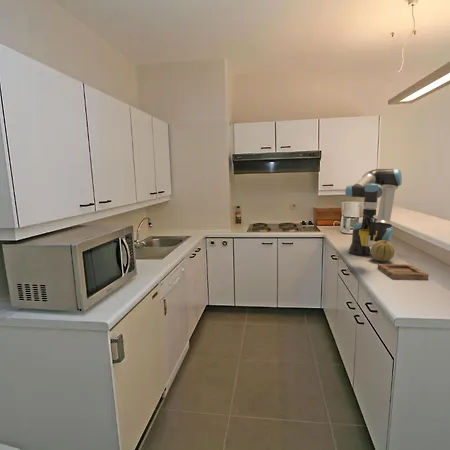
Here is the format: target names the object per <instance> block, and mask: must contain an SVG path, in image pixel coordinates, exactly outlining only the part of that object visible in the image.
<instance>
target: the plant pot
mask: <svg viewBox="0 0 450 450" xmlns="http://www.w3.org/2000/svg"><path fill="white" fill-rule="evenodd" d="M369 234H370V233H369V229H360V230H359V235H360V240H361V245H362V246H367V247H372V246H368V239H369ZM376 236H377V231H376V235H374V239H373V244H374V243H375V241H374V240H375V237H376Z"/></svg>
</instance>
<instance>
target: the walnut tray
mask: <svg viewBox="0 0 450 450" xmlns="http://www.w3.org/2000/svg"><path fill="white" fill-rule="evenodd" d="M377 269H378V271H381V272H382V273H383V274H385V275H386V276H388V277H389V278H390V279H392V280H420V281H422V280H425V281H428V280H429V277H430V276H429V274H428V273H426V272H425V271H423V270H421V269H420V268H418V267H416V266H414V265H412V264H410V263H409V264H407V263H406V264H405V263H404V264H402V263H401V264H399V263H393V264H392V263H391V264H390V263H378V264H377Z"/></svg>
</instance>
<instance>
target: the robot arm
mask: <svg viewBox="0 0 450 450" xmlns="http://www.w3.org/2000/svg"><path fill="white" fill-rule="evenodd" d="M402 180H403V179H402V172H401V169H398V168H376V169H372V170H369V171H367V172H365V173H364V174H363V175H362V177H361V179H359V180H358V181H357V182H355V184H353V185H351V184H350V185H347V186H346V187H345V190H344V192H345V196H346V197H349V198H363V200H364V201H363V202H362V205H363V210H362V214H363V215H362V222H356V223H353V227H352V240H351V244H350V246H349V247H348V253H349V254H351V255H354V256H366V257H367V256H370V255H372V254H371V248H370V247H367V246H362V245H361V240H360V235H359V230H360V229H369V233H370V234H369V239H368V246H371V247H372V246H373V244H374V243H375V242H377V241H380V240H385V241H388V242H390V243H391V241H392V239H393V235H394V231H395V228H394V227H393V225H392V223H391V218H392V211H393V206H394V205H393V204H394V200H395V193H396V190H397V189H399V187H400V186H402ZM378 198H380V200H379V205H378ZM377 209H378V210H377ZM377 212H378V213H377ZM376 215H377V218H374V216H376ZM376 231H377V236H376V237H375V240H374V243H373V239H374V235H376Z"/></svg>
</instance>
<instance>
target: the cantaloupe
mask: <svg viewBox="0 0 450 450" xmlns="http://www.w3.org/2000/svg"><path fill="white" fill-rule="evenodd" d="M370 251H371V254H370V255H371V256H372V258H373V259H374V260H376V262H377V261H378V262H383V263H384V262H385V263H386V262H388V261H391V260H392V258H393V257H394V255H395V247H394V246H393V244H392V243H391V241H390V242H388V241H385V240H380V241H377V242H375V241H374V243H373V246H371V248H370Z"/></svg>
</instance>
